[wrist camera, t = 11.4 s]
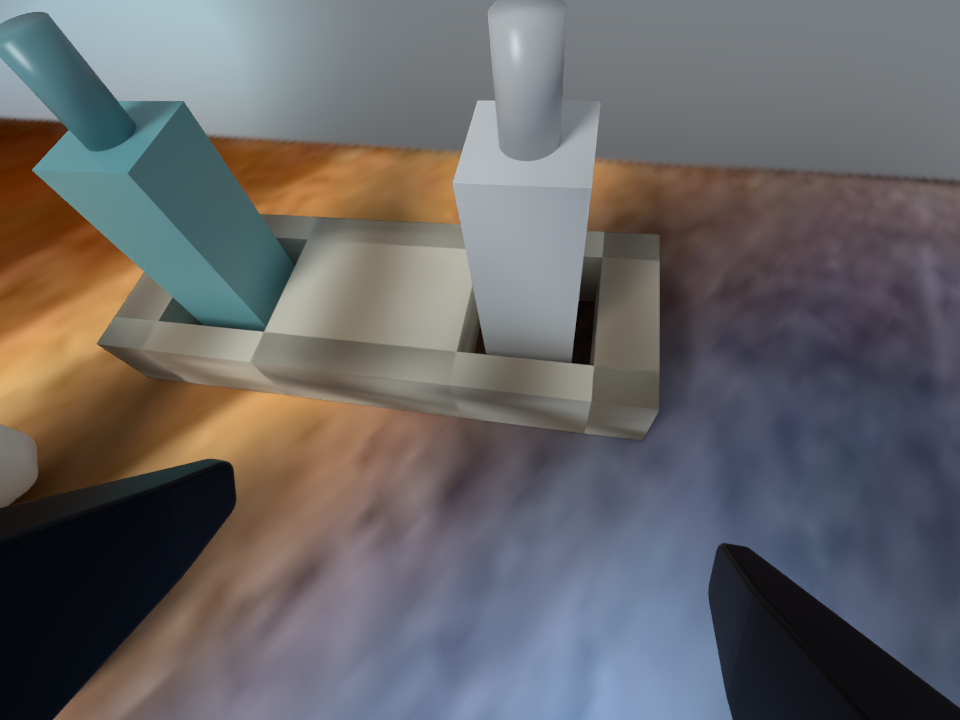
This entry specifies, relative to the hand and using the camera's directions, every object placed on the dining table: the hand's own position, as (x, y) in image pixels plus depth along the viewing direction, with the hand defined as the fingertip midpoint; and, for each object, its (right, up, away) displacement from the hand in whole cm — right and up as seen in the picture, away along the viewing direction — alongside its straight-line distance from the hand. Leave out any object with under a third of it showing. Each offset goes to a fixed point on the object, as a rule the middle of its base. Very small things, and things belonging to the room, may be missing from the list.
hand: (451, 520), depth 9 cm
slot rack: (-3, +4, +14) cm, 15 cm away
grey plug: (+3, +4, +12) cm, 13 cm away
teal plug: (-10, +5, +15) cm, 18 cm away
